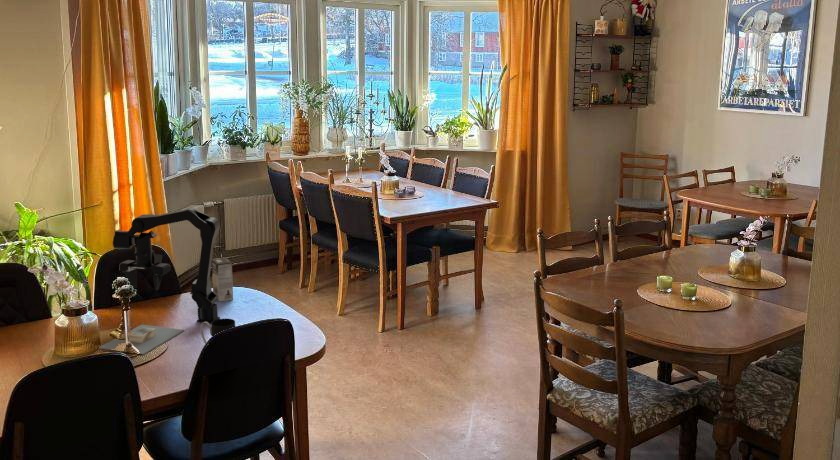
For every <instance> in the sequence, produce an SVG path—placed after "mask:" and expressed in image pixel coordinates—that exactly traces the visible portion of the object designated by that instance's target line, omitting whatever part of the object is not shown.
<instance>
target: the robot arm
mask: <svg viewBox="0 0 840 460" xmlns="http://www.w3.org/2000/svg"><path fill="white" fill-rule="evenodd" d="M184 221H188V222H190V224H191V225H192V226H194V227H195V228H196V229H198V230H199V233H200V234H199V236H200V240H201V250H200V256H199V257H200V258H199V266H198V274H197V278H196V279H195V280H194V281H193V282H192V283H191V285H190V286H191V291H190V293H189V295H191V299H192V301H194V302H195V304H196V306H197V320H196V322H197V323H203V322H208V323H209V324H211V322H212V321H214V320H217V319H221V316H219V315H218V304H217V303H216V302H217V301H218V300H217V298H218V296H217V295H216V294H215V293H214V292H213V288H212V280H211V278H210V276H211V271H212V259H213V253H214V247H215V241H216V239H217V236H218V234H219V230H220V228H221V223H220V221H219V219H217V218H216V217H214V216H212V217H211V216H209V215H208V214H207V213H206V214H205V213H203V212H201V211H199V210H197V209H195V207H194V208H193V207H189V208H186V209H181V210H177V211H176V210H175V211H172V212H171V211H169V212H166V213H162V214H151V213H150V214H149V213H147V214H140V215H138V216H137V217H135V218H133V219H132V221H131V227H130V228H129V229H128V230H120V229H119V230H118V229H117V230H115V231H114V236H113V237H112V238H113V240H112V246H113V249H116V250H131V249H133V247H134V248H135V251H134V252H133V253H132V254H133V256H134V257H135V260H131V259H126V260H124V261H122V262H120V263H119V266H118V267H119V269H118V270H119V271H120V272H122V273H123V274H125V276H126V278H127V279H128V281H130V283H131V284H132V286H133V288H134V289H137V288H138V277H137V273H138V270H146V271H152V273H153V274H152V279H153V285H154V289H155V291H159V289H160V286H161V282H162V280H163V278H164V276H165V275H166V274H168V273H169V272H171V270H172V269H171V265H170V264H169V263H163V262H162V259H163V255H162V254H157V253H155V250H153V248H152V246H153V245H152V239H154V238H155V237H157V236H158V235H157V233H155V232H154V231H153V230H152V229H155V228H156V227H158V226H159V227H160V226H163V225H164V226H165V225H170V224H174V223H175V224H176V223H179V222H184ZM147 231H148V232H147ZM157 263H158V264H157Z"/></svg>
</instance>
